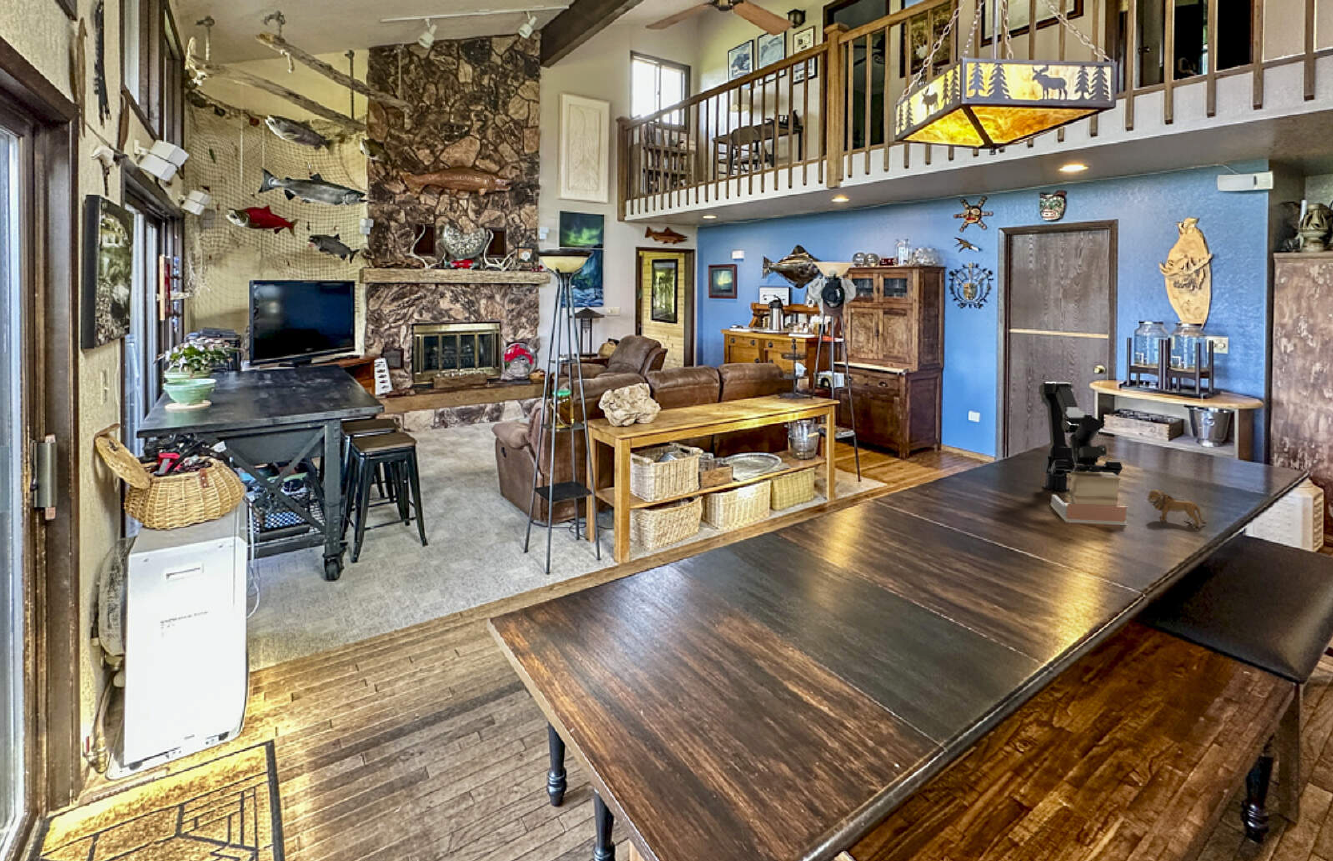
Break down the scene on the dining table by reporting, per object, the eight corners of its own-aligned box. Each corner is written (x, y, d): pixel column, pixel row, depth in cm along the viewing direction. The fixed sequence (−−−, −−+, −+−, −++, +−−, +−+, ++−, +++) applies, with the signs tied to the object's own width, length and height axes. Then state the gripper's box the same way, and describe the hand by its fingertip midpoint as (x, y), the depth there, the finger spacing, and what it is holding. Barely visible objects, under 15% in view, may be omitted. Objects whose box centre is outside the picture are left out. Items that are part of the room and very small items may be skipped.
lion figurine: (1145, 519, 209) (1148, 491, 208) (1146, 515, 214) (1149, 487, 212) (1206, 527, 201) (1209, 498, 199) (1206, 523, 205) (1209, 493, 203)
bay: (1050, 504, 227) (1051, 488, 226) (1105, 507, 223) (1106, 490, 222) (1066, 522, 209) (1067, 504, 208) (1126, 525, 205) (1128, 507, 204)
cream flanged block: (1067, 511, 216) (1070, 471, 213) (1109, 513, 213) (1112, 472, 210) (1073, 518, 210) (1077, 476, 207) (1116, 520, 207) (1120, 477, 204)
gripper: (1055, 434, 217) (1062, 477, 209) (1123, 435, 213) (1133, 479, 204) (1047, 453, 226) (1054, 495, 218) (1112, 455, 221) (1121, 498, 213)
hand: (1090, 491), depth 213 cm, fingers closed, pressing on cream flanged block
